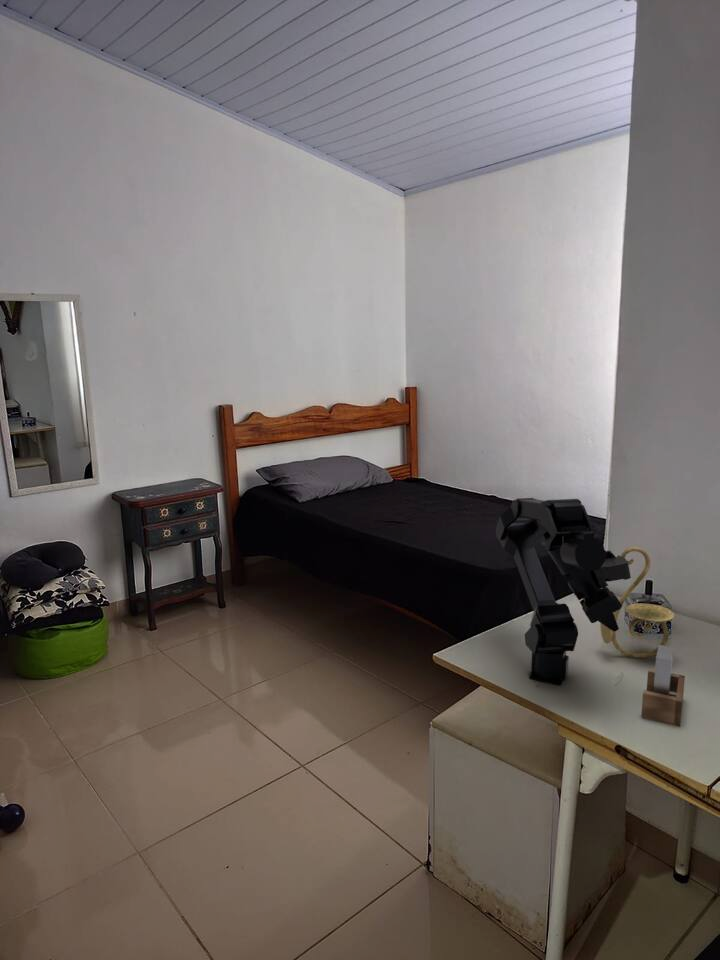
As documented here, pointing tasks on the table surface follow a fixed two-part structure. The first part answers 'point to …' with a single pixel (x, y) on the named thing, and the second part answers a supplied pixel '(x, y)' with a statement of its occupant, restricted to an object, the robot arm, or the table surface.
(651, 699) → the walnut u-shaped bracket
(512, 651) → the table surface
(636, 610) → the wall sconce
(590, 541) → the robot arm
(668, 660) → the angle bracket
